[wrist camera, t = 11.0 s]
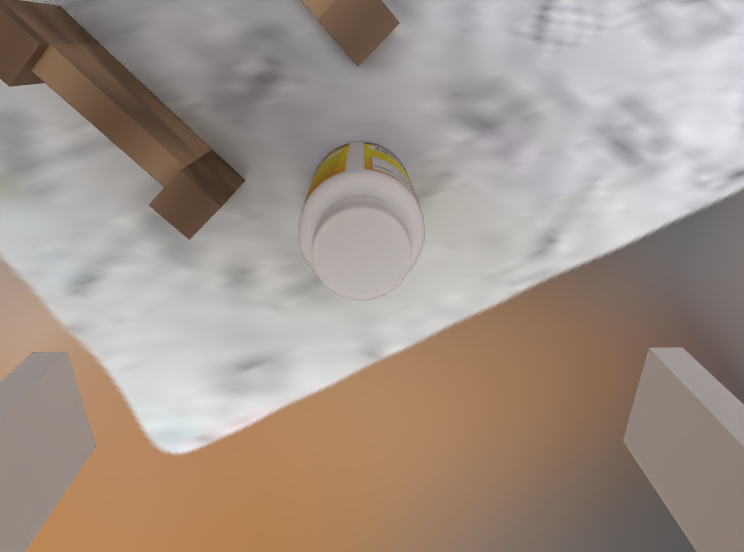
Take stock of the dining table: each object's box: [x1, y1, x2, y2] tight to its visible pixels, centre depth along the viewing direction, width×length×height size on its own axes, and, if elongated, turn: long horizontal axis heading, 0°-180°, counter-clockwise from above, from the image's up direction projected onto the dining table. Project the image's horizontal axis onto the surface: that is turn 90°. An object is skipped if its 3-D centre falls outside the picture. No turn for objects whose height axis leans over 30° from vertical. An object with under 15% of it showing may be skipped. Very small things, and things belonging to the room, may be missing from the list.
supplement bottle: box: [298, 142, 425, 300], centre depth 24 cm, size 6×6×10 cm
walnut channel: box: [0, 0, 399, 240], centre depth 23 cm, size 12×14×5 cm
